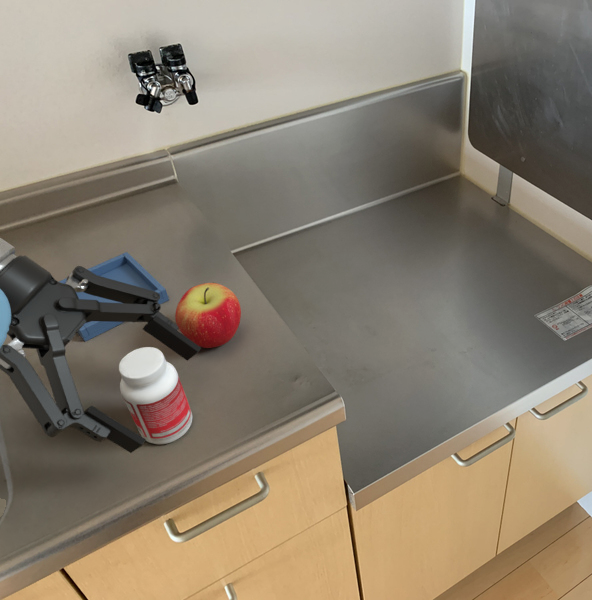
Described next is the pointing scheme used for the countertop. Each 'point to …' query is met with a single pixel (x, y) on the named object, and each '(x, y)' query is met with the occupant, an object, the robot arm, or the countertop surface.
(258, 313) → the countertop surface
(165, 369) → the pill bottle
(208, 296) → the apple
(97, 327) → the medicine tray
